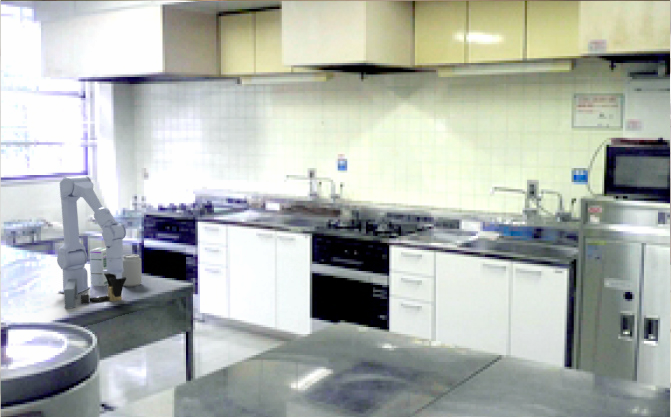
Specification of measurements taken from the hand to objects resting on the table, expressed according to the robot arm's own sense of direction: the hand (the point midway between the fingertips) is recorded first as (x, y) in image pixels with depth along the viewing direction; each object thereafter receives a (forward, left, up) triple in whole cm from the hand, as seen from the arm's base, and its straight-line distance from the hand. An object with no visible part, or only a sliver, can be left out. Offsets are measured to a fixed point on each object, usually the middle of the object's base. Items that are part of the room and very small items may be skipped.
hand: (115, 294), depth 242 cm
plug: (+3, -4, -2) cm, 5 cm away
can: (-23, -4, -2) cm, 23 cm away
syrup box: (-21, -16, -2) cm, 26 cm away
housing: (+6, -14, -2) cm, 15 cm away
